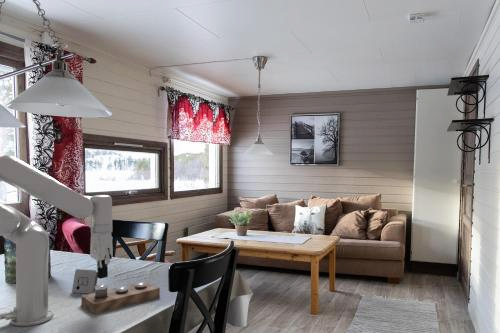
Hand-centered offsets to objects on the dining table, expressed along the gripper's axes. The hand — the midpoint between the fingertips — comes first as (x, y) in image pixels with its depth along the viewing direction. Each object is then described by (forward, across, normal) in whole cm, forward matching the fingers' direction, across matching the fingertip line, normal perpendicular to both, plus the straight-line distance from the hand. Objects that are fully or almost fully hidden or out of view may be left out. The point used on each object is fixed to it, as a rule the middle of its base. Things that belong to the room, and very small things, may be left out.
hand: (102, 277), depth 144 cm
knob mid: (+10, 0, +7) cm, 13 cm away
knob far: (+10, 0, +15) cm, 19 cm away
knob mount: (+11, 0, +7) cm, 13 cm away
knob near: (+8, 0, -1) cm, 8 cm away
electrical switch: (+11, -21, +1) cm, 24 cm away
